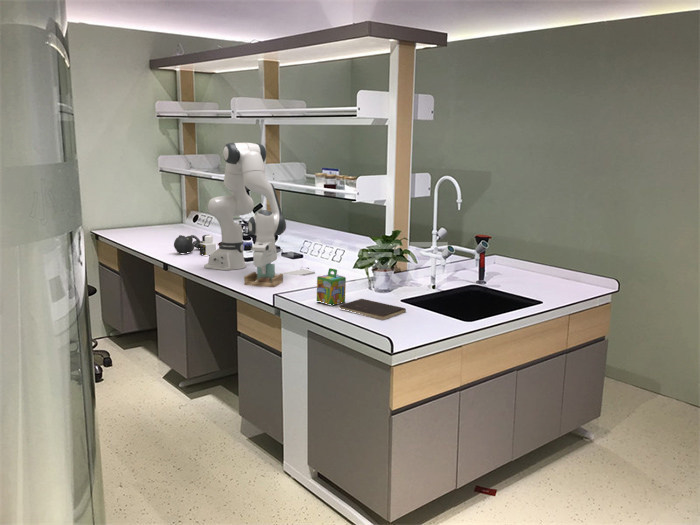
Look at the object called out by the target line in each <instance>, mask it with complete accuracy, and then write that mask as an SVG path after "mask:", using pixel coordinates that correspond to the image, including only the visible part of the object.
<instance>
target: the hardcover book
mask: <svg viewBox="0 0 700 525" xmlns="http://www.w3.org/2000/svg"><path fill="white" fill-rule="evenodd" d="M338 307H339V308H341V309H345V310H349V311H352V312H356V313H360V314H363V315H362V316H364V315H366V317H368V316H370V318H373V319H378V320H381V321H383V320H386V319H390V318H392V317H395V316H398V315H400V314H404V313H406V312H407V310H406V308H404V307H401V306H396V305H394V304H393V305H392V304H388V303H385V302H384V303H383V302H379V301H374V300H369V299H366V298H358V299H356V300H353V301H349V302H345V303H341V304H338ZM352 312H351V313H352ZM356 313H355V314H356ZM360 314H359V315H360Z"/></svg>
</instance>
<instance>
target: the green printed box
mask: <svg viewBox="0 0 700 525" xmlns="http://www.w3.org/2000/svg"><path fill="white" fill-rule="evenodd" d="M332 272H333V273H332ZM337 273H338V269H336V268H328V272H327V274H324V275H319V276H317V278H316V301H321V302H324V303H327V304H331V305H333V304H337V303H341V302H345V303H346V286H347V285H346V280H347V277H345V276H343V275H339V274H337ZM341 304H342V303H341ZM337 305H338V304H337ZM333 306H334V305H333Z"/></svg>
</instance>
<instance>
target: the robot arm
mask: <svg viewBox="0 0 700 525" xmlns="http://www.w3.org/2000/svg"><path fill="white" fill-rule="evenodd" d="M222 158H223V160H224V161H225V162H226V164H225V168H224V176H223V177H224V179H223V185H224V186H225V188H226V189H227V190H230V191H231V193H230V194H231V195H220V196H215V197H212V198H210V200H209V201H208V204H207V208H208V212H209V214H210V215H211V216H213V217H214V219H216V220H217V222H218V224H219V227H220V234H221V241H220V242H219V243H217V246H218V248H216V251H215V252H214V253H212V254H211V255H210V256H208V260H207V261H208V263H205V264H204V266H203V267H205V269H214V270H220V271H231V270H241V269H245V268H247V265H246V262H245V257H244V241H243V227H242V226H241V225H240V224H239V223H237V222H235V220H234V217H238V216H239V217H240V216H245V215H248V214H251V213H253V210H254V206H255V203H254V200H253V199H252V197H251V196H250V195H249V194H248V193H247V190H246V188H247V189H248V190H249V191H251V192H253V193H256V194H258V195H261V196H263V197H264V198H266V199H267V200H268V204H269V207H270V210H267V209H262V210H258V211H257V213H256V214H255V215H254V216H251V217H249V219H248V220H247V226H248V227H247V228H248V232H249V233H250V234H251V235H252V236H256V239H255V243H254V244H253V245H252V247H251V248H252V251H253V254H252V256H253V257H252V258H253V265H254V268H257V267H261V269H262V274H266V273H267V270H266V268H265V267H266V265H267V264H272V263H273V262H275V261H277V258H278V253H277V252H278V251H277V246H276V240H275V239H276V236H281V235H283V233H284V232H285V231H286V230H287V222H286V220H285V216H284V214H283V212H282V208H281V205H280V201H279V197H278V195H277V191H276V188H275V186H274V184H273V183H271V181H269V179H268V178H267V174H266V168H265V163H264V162H265V161H266V159H267V149H266V147H265V146H264V145H263V144H260V143H254V142H227V143H225V145H224V147H223V151H222Z"/></svg>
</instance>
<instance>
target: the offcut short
mask: <svg viewBox="0 0 700 525" xmlns="http://www.w3.org/2000/svg"><path fill="white" fill-rule="evenodd" d="M270 281H271V278H268V277H260V278H259V279H258V282H270Z"/></svg>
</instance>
